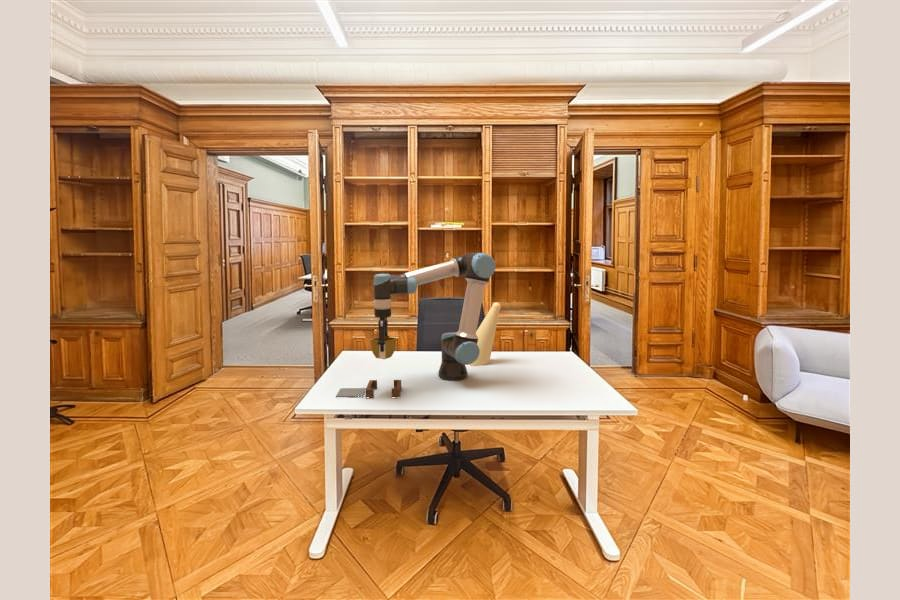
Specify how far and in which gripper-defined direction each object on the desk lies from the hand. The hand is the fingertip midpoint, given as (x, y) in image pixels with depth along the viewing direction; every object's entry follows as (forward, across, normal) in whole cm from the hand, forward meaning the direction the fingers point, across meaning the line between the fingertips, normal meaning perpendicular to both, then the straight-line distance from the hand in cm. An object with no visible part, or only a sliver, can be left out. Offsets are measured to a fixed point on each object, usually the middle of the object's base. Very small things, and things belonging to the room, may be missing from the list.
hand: (383, 355), depth 229 cm
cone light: (+18, -55, +49) cm, 76 cm away
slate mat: (+18, 0, -15) cm, 23 cm away
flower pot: (+1, 0, 0) cm, 1 cm away
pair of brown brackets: (+18, 0, 0) cm, 18 cm away
